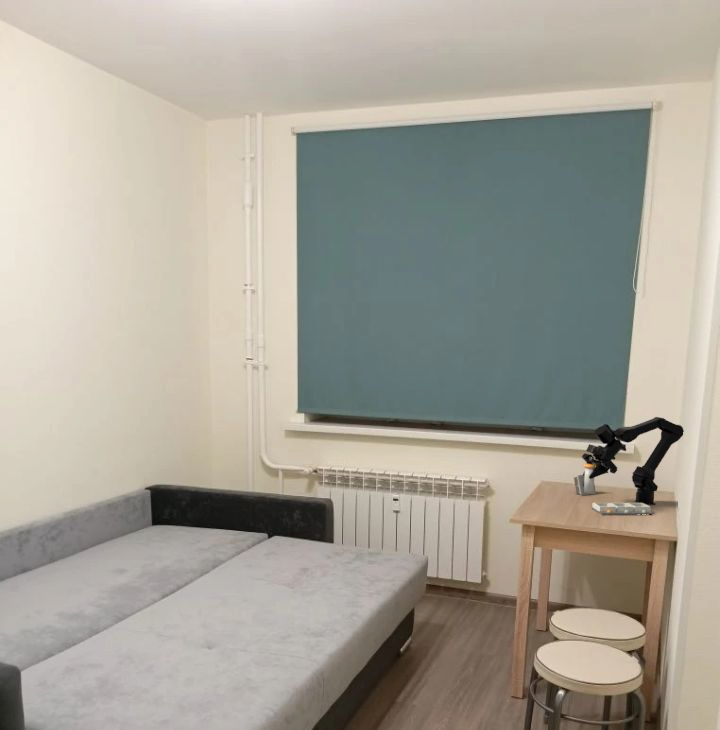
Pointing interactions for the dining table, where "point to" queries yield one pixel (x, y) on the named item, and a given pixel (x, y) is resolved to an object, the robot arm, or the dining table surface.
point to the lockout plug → (587, 481)
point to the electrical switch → (581, 485)
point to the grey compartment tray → (622, 508)
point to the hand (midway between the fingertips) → (586, 477)
